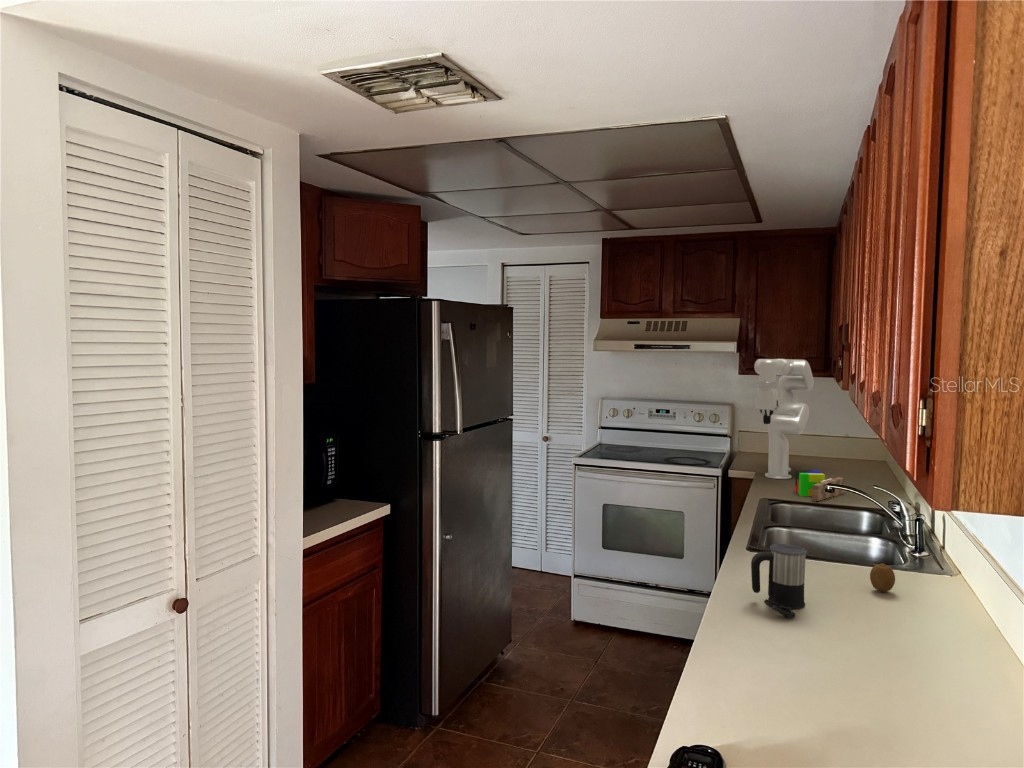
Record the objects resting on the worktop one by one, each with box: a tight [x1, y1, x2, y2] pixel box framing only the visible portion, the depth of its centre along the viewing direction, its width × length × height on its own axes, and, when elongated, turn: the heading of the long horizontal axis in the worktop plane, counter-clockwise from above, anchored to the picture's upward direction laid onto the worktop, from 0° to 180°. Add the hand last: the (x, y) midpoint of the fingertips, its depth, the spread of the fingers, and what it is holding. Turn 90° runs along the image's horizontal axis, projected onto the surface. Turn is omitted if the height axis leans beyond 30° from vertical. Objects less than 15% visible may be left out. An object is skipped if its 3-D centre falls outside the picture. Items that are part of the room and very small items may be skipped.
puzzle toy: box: [794, 469, 826, 497], centre depth 320 cm, size 10×10×10 cm
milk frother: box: [750, 543, 808, 619], centre depth 185 cm, size 14×16×15 cm
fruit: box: [869, 563, 896, 593], centre depth 197 cm, size 6×6×8 cm
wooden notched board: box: [811, 476, 845, 502], centre depth 314 cm, size 26×2×8 cm, turn 132°
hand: (766, 423), depth 341 cm, fingers closed
